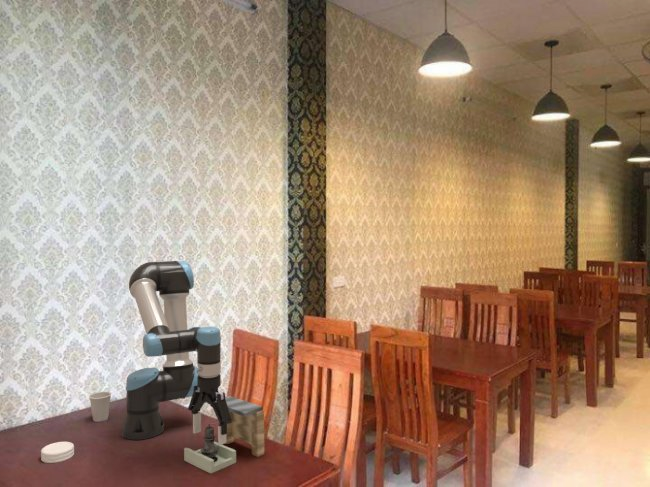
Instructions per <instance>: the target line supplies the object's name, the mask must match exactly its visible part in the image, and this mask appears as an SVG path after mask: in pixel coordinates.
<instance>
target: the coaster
mask: <svg viewBox="0 0 650 487" xmlns="http://www.w3.org/2000/svg"><path fill="white" fill-rule="evenodd" d="M40 453H41V454H40V459H41V461H42V462H43V463H45V464H55V463H57V464H58V463H61V462H64V461H67V460H69V459H71V458H73V457H74V454H75V445H74V443H72V442H70V441H57V442H54V443H53V442H52V443H50V444H47V445H45V446H44V447H42V448H41V450H40Z"/></svg>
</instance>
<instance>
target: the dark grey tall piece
mask: <svg viewBox="0 0 650 487" xmlns="http://www.w3.org/2000/svg"><path fill="white" fill-rule="evenodd" d="M214 429H215V428H214V427H213V426H211V424H210V423H208V426H206V427H205V429H204V437H203V440H204V446H203V447H201V448H200V449H201V452H202V455H204V456H207V457H209V458H211V459H213V460H214V462H216V461H217V460H218V458H217V457H216V455H217V452H218V449H219V448H218V447H217V446H215V444H214V441H215V438H216V436H215V432H214V431H215V430H214Z"/></svg>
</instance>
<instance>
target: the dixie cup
mask: <svg viewBox="0 0 650 487" xmlns="http://www.w3.org/2000/svg"><path fill="white" fill-rule="evenodd" d="M111 396H112V392H110V391H98V392H93V393H91V394H90V395H89V396H88V398H89V403H90V408H91V409H90V410H91V415H92V416H91V417H92V420H93V422H96V423H97V422H105V421H107V420H108V419H109V413H110V404H111V398H112V397H111Z"/></svg>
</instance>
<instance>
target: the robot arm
mask: <svg viewBox="0 0 650 487" xmlns="http://www.w3.org/2000/svg"><path fill="white" fill-rule="evenodd" d="M194 283H195V278H194V272H193V269H192V267H191V265H190V264H189V262H187V261H184V260H173V261H172V260H169V261H168V260H167V261H166V260H165V261H148V262H144V263H142V264H140V265H139V266H138V267H137V268H136V269H134V271H133V272H132V274H131V275H130V278H129V282H128V289H129V292H130V295H131V296H132V298H134V299H135V303H136V305H137V309H138V311H139V315H140V318H141V321H142V326H143V328H144V330H145V333H146V334H145V335H143V338H142V348H143V350H142V351H143V354H144V355H145V356H146V357H150V358H152V357H160V356H161V357H162V356H165V358H166V361H165V362H164V364H162V370H159V368H157V367H145V368H140V369H137V370H134V371H132V372H131V373H130V374H129V375H128V376H127V377H126V381H125V382H126V386H125V390H126V391H125V392H126V416H125V418H124V422H123V425H122V429H121V435H122V438H124V439H127V440H133V441H134V440H136V441H138V440H147V439H151V438H154V437H157V436H159V435H161V434H162V433H163V432H164V431H165V422H164V419H163V416H162V414H161V411H160V403H163V402H170V401H174V400H180V399H183V400H184V399H187V398H190V397H191V398H190V401H189V405H188V408H187V409H188V411H191V414H192V434H197V433H200V432H202V412H201V409H202V407H203V406H204V405H205V403H206V404H208V405H209V406H210V407H211V408H212V410H213V412H214V414H215V416H216V419H217V420H218V423H219V424H218V425H217V441H218V442H217V443H218V445H224V444H226V434H227V424H229V423H231V422H232V420H231V417H230V413H229V410H228V406H227V403H226V399H225V397H226V393H225V392H224V391H223V392H220V391H219V388H220V386H221V383H222V379H221V377H222V376H221V372H222V370H221V369H222V367H221V366H222V364H221V358H222V356H221V345H222V344H221V341H222V335H221V330H220V328H219V327H216V326H202V327H201V326H192V327H190V328H188V315H187V297H188V296H189V295H190V290H192V289H193V288H194V285H195V284H194ZM157 292H158V295H157ZM159 297H160V298H161V299H162V300H163V308H162V305H161V302H160V300H159ZM191 352H196V358H197V359H196V361H197V363H196V364H197V366H196V365H194V361H193V360H191V358H190V354H189V353H191ZM216 401H217V402H216ZM227 419H228V420H227ZM222 420H223V421H222Z"/></svg>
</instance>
